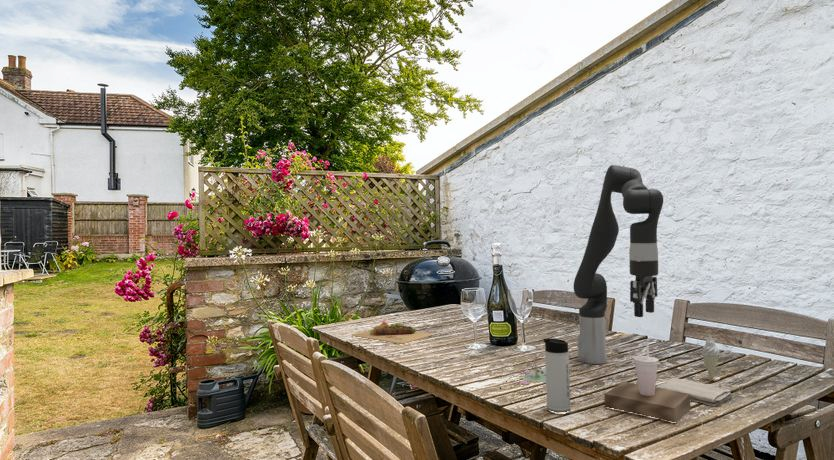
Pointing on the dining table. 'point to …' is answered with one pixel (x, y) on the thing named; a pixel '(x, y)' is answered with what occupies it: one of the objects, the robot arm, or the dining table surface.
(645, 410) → the walnut base
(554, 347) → the travel mug
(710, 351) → the ice cream cone
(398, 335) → the cutting board
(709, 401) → the washcloth
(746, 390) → the dining table surface
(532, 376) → the plant
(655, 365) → the smoothie
